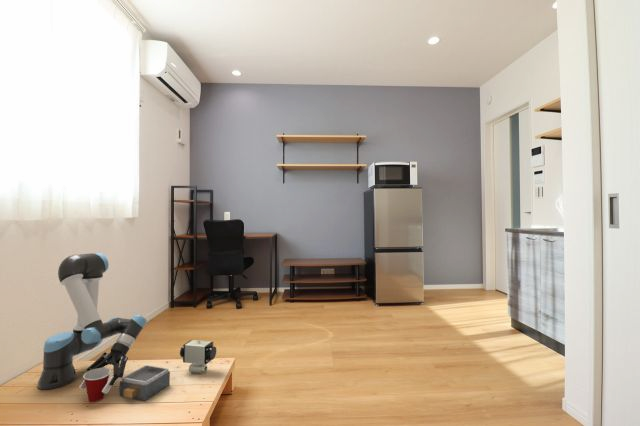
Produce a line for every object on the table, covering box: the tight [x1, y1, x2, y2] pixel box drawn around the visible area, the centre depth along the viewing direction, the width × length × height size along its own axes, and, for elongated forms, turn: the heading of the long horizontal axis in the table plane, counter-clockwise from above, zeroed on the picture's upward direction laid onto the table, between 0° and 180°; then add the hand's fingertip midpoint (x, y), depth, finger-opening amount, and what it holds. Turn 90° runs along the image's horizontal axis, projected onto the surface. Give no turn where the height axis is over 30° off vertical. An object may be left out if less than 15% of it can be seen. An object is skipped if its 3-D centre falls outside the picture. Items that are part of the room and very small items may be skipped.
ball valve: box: [179, 339, 217, 375], centre depth 171 cm, size 18×8×18 cm, turn 80°
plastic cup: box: [82, 367, 112, 403], centre depth 144 cm, size 11×11×12 cm
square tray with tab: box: [119, 365, 171, 403], centre depth 150 cm, size 15×17×8 cm
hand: (92, 390), depth 142 cm, fingers open, 13 cm apart
